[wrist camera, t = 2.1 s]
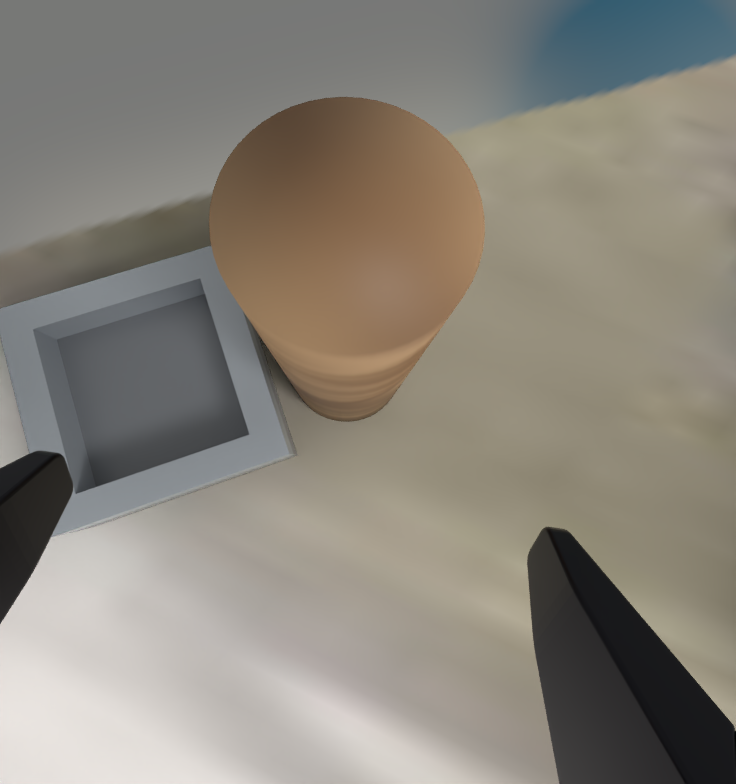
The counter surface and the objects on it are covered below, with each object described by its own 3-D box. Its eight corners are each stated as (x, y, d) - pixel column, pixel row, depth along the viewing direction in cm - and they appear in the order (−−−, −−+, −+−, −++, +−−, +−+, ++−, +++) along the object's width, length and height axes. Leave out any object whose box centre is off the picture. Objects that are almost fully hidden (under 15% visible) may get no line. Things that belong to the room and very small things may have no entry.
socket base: (297, 455, 20) (289, 454, 17) (95, 526, 20) (50, 537, 17) (237, 273, 22) (220, 242, 19) (44, 332, 21) (-7, 310, 18)
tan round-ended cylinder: (339, 444, 21) (330, 413, 8) (269, 360, 21) (151, 199, 8) (422, 374, 21) (540, 238, 8) (352, 294, 22) (364, 50, 9)
